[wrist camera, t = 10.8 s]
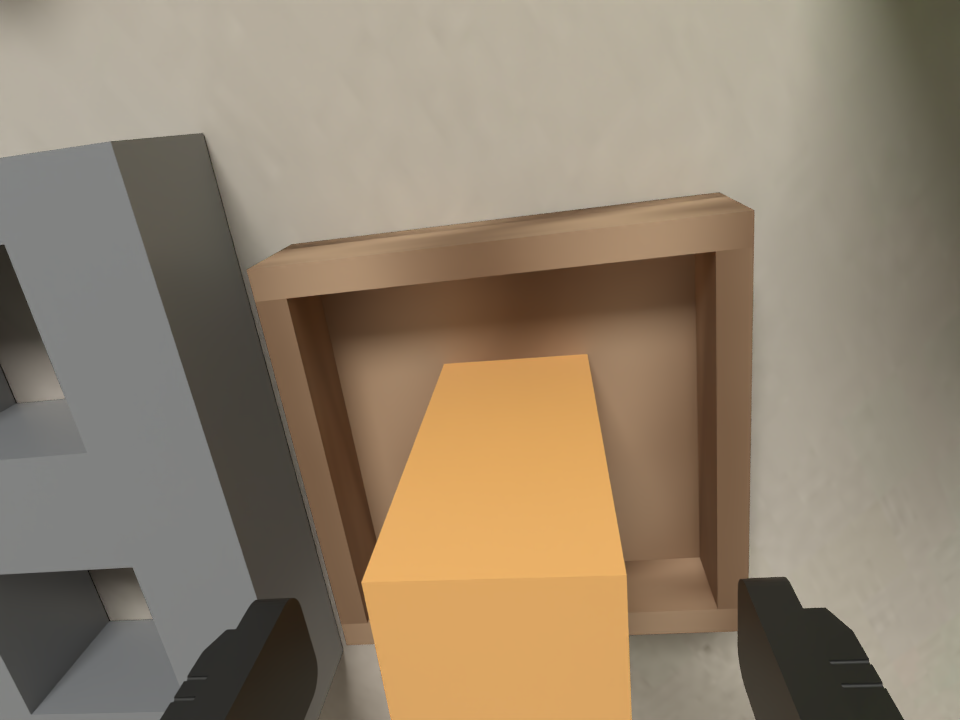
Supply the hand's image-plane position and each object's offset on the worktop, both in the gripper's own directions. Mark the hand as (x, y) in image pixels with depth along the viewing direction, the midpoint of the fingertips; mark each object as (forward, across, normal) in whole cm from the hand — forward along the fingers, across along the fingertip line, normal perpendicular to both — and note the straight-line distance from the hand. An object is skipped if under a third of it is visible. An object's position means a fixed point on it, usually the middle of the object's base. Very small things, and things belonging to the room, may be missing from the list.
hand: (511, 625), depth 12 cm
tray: (+8, 0, 0) cm, 8 cm away
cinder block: (+8, +14, 0) cm, 16 cm away
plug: (+8, 0, 0) cm, 8 cm away
